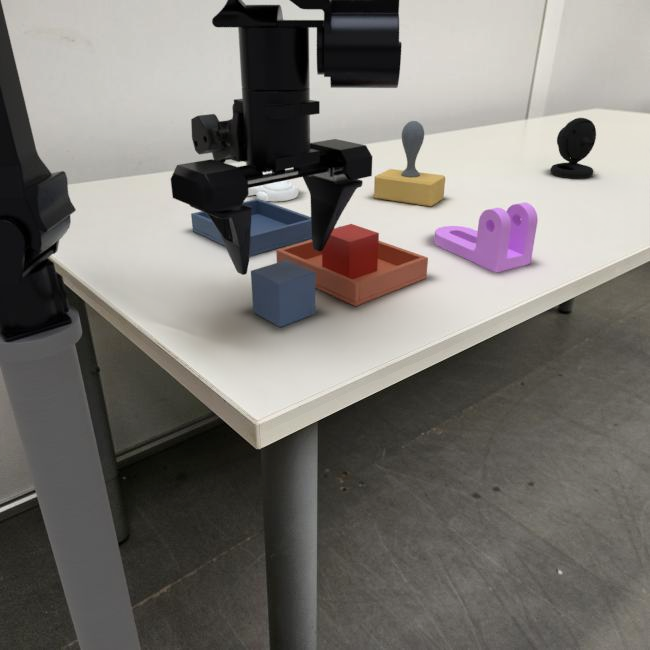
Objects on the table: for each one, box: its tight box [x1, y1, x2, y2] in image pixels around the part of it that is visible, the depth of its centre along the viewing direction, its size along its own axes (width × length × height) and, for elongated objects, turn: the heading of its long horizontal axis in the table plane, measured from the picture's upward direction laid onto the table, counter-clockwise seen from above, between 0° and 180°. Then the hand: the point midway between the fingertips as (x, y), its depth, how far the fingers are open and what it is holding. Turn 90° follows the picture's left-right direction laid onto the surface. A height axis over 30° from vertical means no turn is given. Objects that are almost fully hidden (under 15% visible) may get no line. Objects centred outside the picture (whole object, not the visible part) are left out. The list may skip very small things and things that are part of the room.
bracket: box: [433, 202, 539, 274], centre depth 75 cm, size 13×6×7 cm, turn 30°
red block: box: [322, 223, 380, 279], centre depth 69 cm, size 4×4×4 cm
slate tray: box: [190, 198, 312, 257], centre depth 82 cm, size 11×13×2 cm
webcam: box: [550, 117, 597, 179], centre depth 111 cm, size 8×8×10 cm
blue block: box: [250, 260, 317, 328], centre depth 60 cm, size 4×4×4 cm
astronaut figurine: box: [247, 172, 300, 202], centre depth 101 cm, size 9×12×3 cm
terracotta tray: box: [275, 239, 429, 307], centre depth 69 cm, size 11×13×2 cm
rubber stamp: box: [373, 120, 446, 207], centre depth 96 cm, size 10×6×12 cm, turn 60°
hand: (281, 261), depth 58 cm, fingers open, 9 cm apart
